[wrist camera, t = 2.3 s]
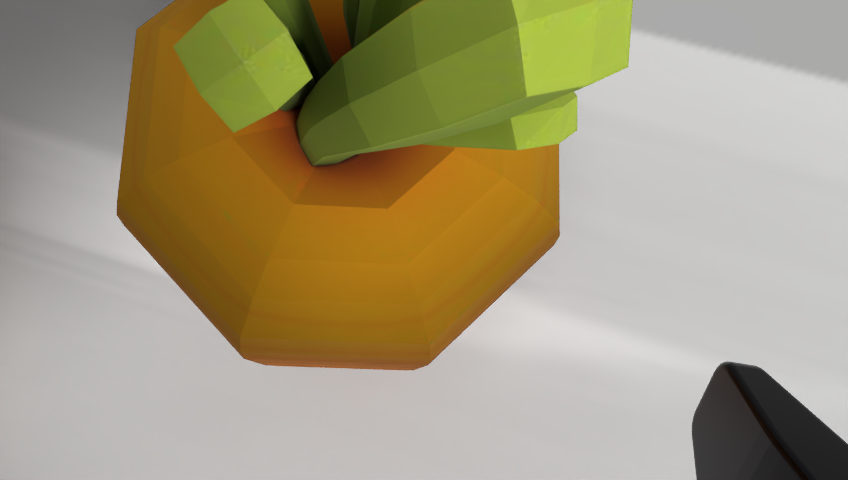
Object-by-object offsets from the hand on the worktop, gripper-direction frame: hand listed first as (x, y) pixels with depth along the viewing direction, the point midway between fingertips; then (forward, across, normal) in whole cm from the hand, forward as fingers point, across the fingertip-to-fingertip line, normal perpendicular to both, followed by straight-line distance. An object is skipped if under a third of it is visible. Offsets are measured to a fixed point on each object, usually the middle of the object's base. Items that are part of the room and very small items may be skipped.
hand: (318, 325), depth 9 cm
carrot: (+8, 0, +6) cm, 10 cm away
